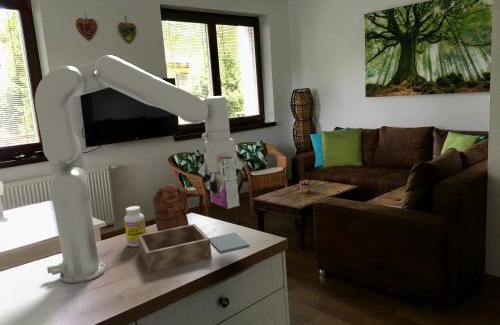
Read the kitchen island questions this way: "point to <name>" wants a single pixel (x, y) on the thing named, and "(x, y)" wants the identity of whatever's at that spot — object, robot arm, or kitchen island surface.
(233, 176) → the candy bar box
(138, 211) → the supplement bottle
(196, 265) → the kitchen island surface
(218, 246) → the grey mat
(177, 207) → the wooden figurine
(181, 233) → the open wooden crate
